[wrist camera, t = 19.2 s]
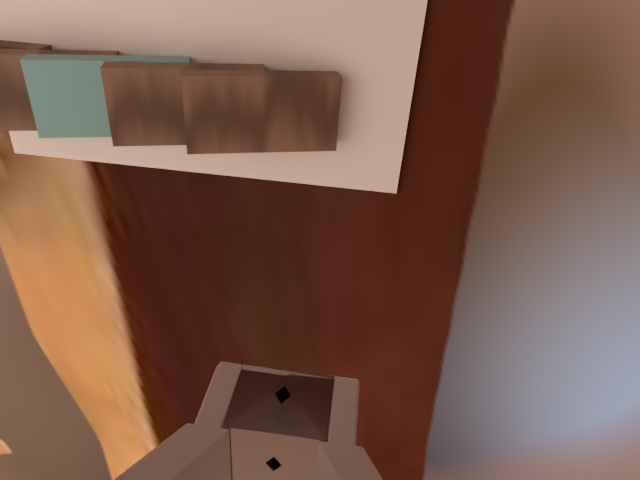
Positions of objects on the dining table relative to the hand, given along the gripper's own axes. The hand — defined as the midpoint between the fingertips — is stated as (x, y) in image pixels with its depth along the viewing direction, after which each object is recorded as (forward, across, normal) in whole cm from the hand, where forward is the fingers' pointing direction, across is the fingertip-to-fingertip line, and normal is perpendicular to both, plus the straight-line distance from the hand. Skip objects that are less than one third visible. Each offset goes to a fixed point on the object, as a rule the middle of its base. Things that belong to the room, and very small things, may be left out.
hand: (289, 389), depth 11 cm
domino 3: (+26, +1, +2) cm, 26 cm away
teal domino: (+26, +11, +2) cm, 28 cm away
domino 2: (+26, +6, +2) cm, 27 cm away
